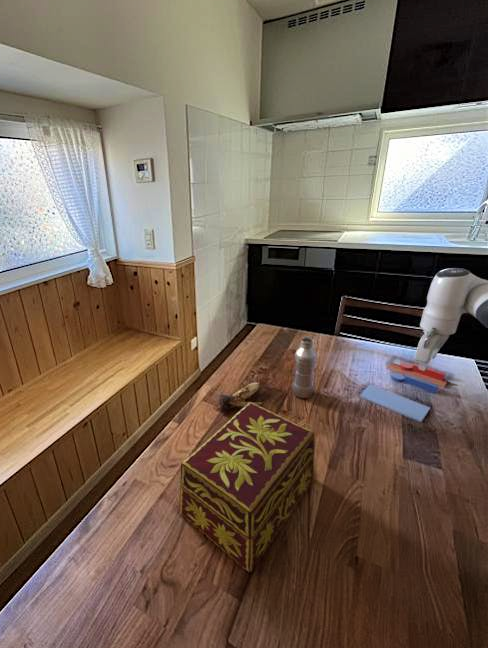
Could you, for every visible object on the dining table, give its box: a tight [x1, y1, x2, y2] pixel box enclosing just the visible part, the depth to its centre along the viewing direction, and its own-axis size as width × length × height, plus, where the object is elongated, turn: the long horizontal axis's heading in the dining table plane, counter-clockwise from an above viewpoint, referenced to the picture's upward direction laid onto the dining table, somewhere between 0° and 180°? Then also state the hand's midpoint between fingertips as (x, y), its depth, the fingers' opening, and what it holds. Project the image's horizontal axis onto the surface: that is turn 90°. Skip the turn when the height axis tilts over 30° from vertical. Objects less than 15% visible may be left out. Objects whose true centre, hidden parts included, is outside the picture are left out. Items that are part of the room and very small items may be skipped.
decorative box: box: [179, 401, 316, 573], centre depth 74 cm, size 28×19×15 cm
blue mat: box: [359, 384, 431, 423], centre depth 102 cm, size 17×8×1 cm, turn 42°
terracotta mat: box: [386, 362, 449, 389], centre depth 115 cm, size 17×8×1 cm, turn 42°
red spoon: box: [399, 361, 447, 381], centre depth 114 cm, size 13×4×2 cm, turn 42°
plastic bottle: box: [291, 336, 318, 399], centre depth 105 cm, size 6×7×20 cm
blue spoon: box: [390, 372, 439, 395], centre depth 110 cm, size 13×4×2 cm, turn 42°
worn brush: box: [217, 381, 263, 413], centre depth 106 cm, size 9×5×18 cm
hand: (427, 363), depth 105 cm, fingers open, 8 cm apart
